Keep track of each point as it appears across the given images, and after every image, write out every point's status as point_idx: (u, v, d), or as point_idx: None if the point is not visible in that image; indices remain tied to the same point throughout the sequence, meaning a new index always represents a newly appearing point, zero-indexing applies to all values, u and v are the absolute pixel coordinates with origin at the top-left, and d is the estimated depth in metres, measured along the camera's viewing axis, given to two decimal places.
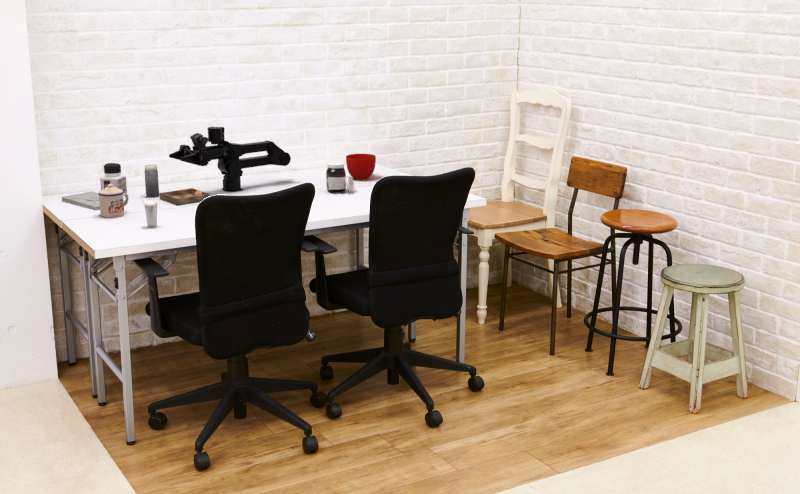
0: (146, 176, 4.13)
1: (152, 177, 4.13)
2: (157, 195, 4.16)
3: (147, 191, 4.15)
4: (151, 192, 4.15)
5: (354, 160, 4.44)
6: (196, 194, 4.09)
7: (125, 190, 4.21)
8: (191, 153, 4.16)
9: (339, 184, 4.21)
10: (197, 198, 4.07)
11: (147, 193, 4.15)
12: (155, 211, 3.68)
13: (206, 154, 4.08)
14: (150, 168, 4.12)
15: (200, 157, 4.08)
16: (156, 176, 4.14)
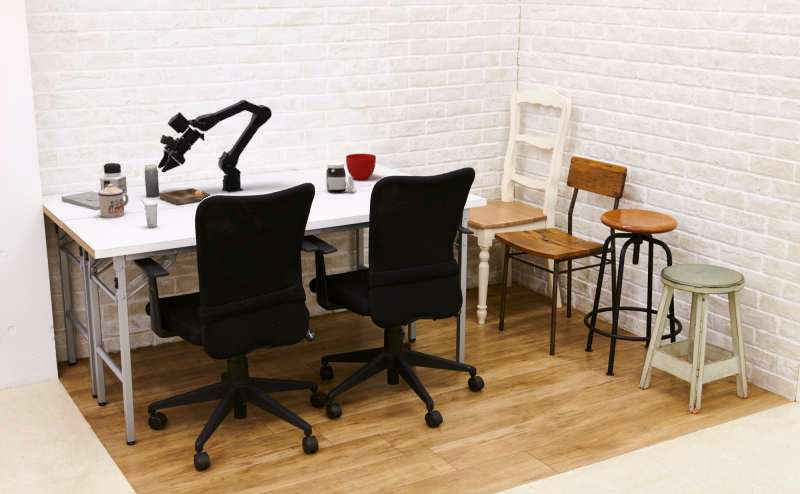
0: (146, 176, 4.13)
1: (152, 177, 4.13)
2: (157, 195, 4.16)
3: (147, 191, 4.15)
4: (151, 192, 4.15)
5: (354, 160, 4.44)
6: (196, 194, 4.09)
7: (125, 190, 4.21)
8: None
9: (339, 184, 4.21)
10: (197, 198, 4.07)
11: (147, 193, 4.15)
12: (155, 211, 3.68)
13: (176, 154, 4.08)
14: (150, 168, 4.12)
15: (174, 159, 4.09)
16: (156, 176, 4.14)
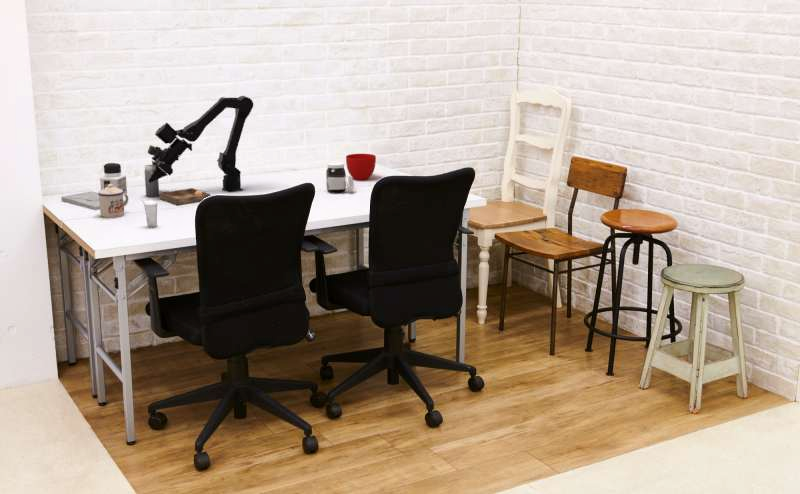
0: (146, 176, 4.13)
1: None
2: (157, 195, 4.16)
3: (147, 191, 4.15)
4: (151, 192, 4.15)
5: (354, 160, 4.44)
6: (196, 194, 4.09)
7: (125, 190, 4.21)
8: None
9: (339, 184, 4.21)
10: (197, 198, 4.07)
11: (147, 193, 4.15)
12: (155, 211, 3.68)
13: (164, 165, 4.07)
14: (150, 168, 4.12)
15: (161, 169, 4.10)
16: None
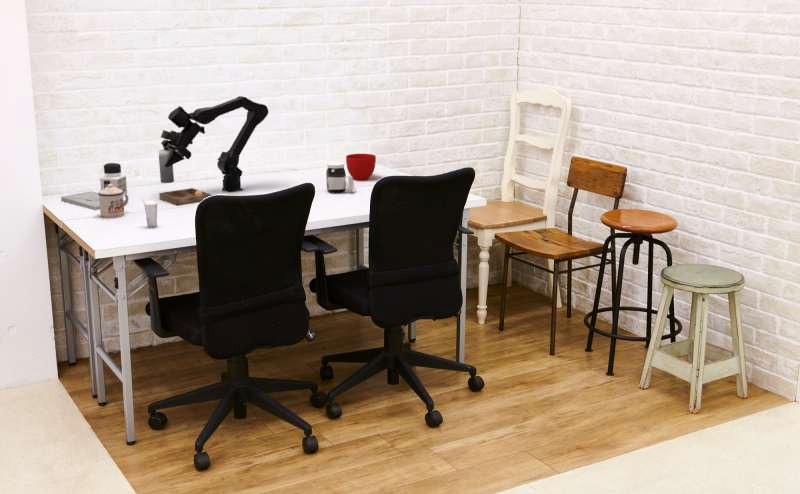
0: (161, 161, 4.08)
1: None
2: (173, 180, 4.12)
3: (163, 176, 4.10)
4: (167, 177, 4.09)
5: (354, 160, 4.44)
6: (196, 194, 4.09)
7: (125, 190, 4.21)
8: (173, 148, 4.13)
9: (339, 184, 4.21)
10: (197, 198, 4.07)
11: (163, 178, 4.10)
12: (155, 211, 3.68)
13: (183, 149, 4.03)
14: (166, 153, 4.07)
15: (179, 153, 4.06)
16: None
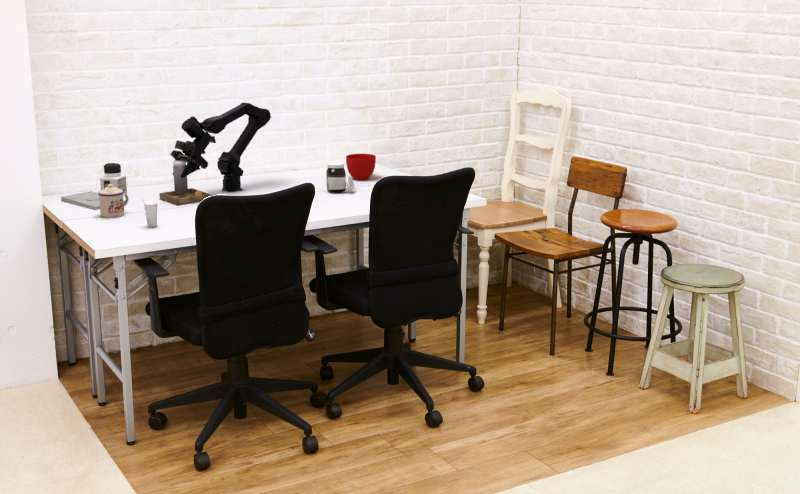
0: (177, 172, 4.06)
1: None
2: (187, 190, 4.11)
3: (178, 187, 4.08)
4: (182, 188, 4.08)
5: (354, 160, 4.44)
6: (196, 194, 4.09)
7: (125, 190, 4.21)
8: (185, 158, 4.12)
9: (339, 184, 4.21)
10: (197, 198, 4.07)
11: (178, 189, 4.08)
12: (155, 211, 3.68)
13: (201, 158, 4.04)
14: (181, 163, 4.06)
15: (195, 163, 4.06)
16: None
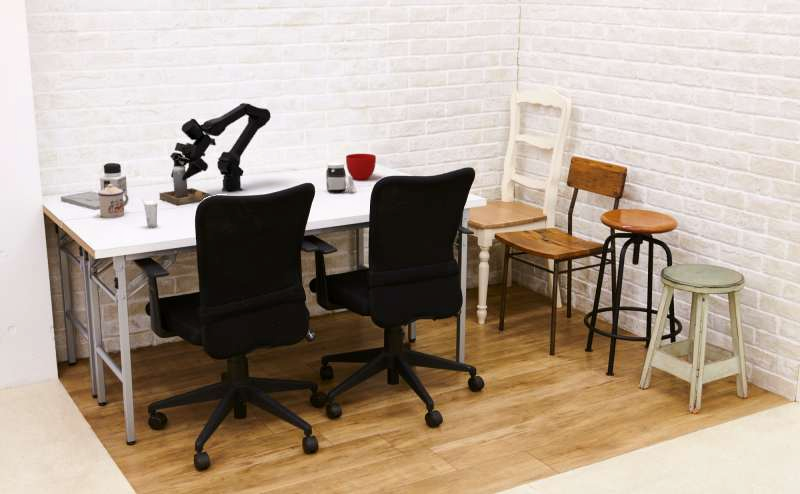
0: (177, 178, 4.07)
1: None
2: (187, 196, 4.11)
3: (178, 193, 4.08)
4: (182, 193, 4.09)
5: (354, 160, 4.44)
6: (196, 194, 4.09)
7: (125, 190, 4.21)
8: (185, 160, 4.12)
9: (339, 184, 4.21)
10: (197, 198, 4.07)
11: (178, 195, 4.09)
12: (155, 211, 3.68)
13: (201, 161, 4.04)
14: (181, 169, 4.06)
15: (197, 166, 4.05)
16: None
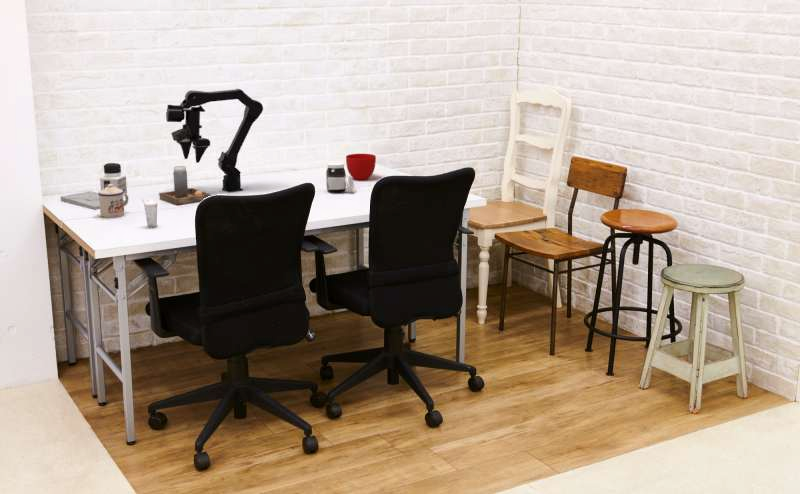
0: (177, 178, 4.07)
1: (183, 178, 4.08)
2: (187, 196, 4.11)
3: (178, 193, 4.08)
4: (182, 194, 4.09)
5: (354, 160, 4.44)
6: (196, 194, 4.09)
7: (125, 190, 4.21)
8: (188, 139, 4.19)
9: (339, 184, 4.21)
10: (197, 198, 4.07)
11: (178, 195, 4.09)
12: (155, 211, 3.68)
13: (200, 142, 4.11)
14: (182, 169, 4.07)
15: None
16: (186, 177, 4.09)
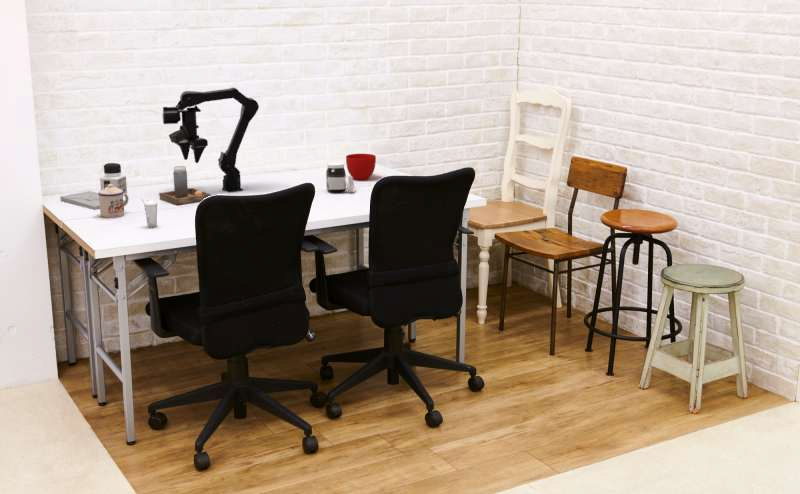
0: (177, 178, 4.07)
1: (183, 178, 4.08)
2: (187, 196, 4.11)
3: (178, 193, 4.08)
4: (182, 194, 4.09)
5: (354, 160, 4.44)
6: (196, 194, 4.09)
7: (125, 190, 4.21)
8: (187, 140, 4.20)
9: (339, 184, 4.21)
10: (197, 198, 4.07)
11: (178, 195, 4.09)
12: (155, 211, 3.68)
13: (198, 142, 4.11)
14: (182, 169, 4.07)
15: None
16: (186, 177, 4.09)
